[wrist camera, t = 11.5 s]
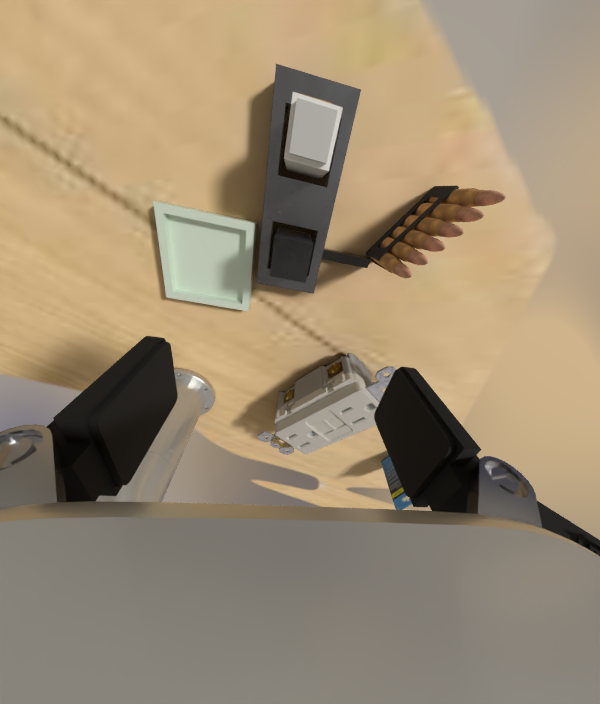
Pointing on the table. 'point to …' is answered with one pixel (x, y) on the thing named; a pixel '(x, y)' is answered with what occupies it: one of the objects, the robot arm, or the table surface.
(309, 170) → the grey rectangular block
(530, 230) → the table surface
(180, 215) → the tray
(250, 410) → the table surface
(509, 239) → the table surface
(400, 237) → the ammunition clip
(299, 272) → the dark grey holder base
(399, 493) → the label tape box
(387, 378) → the electrical outlet
